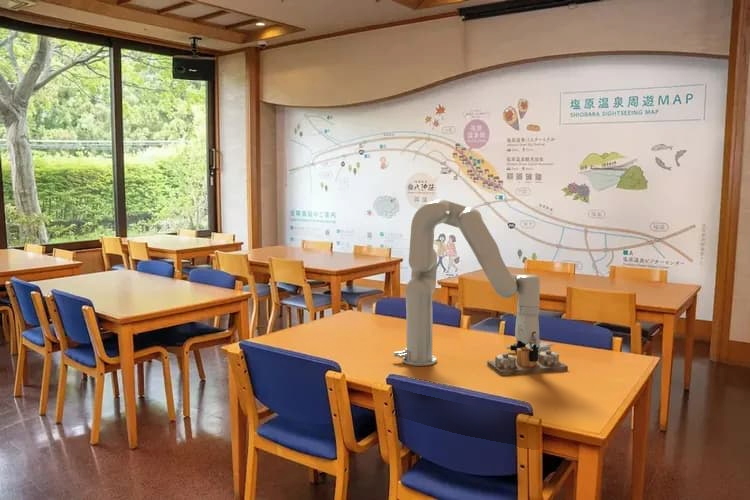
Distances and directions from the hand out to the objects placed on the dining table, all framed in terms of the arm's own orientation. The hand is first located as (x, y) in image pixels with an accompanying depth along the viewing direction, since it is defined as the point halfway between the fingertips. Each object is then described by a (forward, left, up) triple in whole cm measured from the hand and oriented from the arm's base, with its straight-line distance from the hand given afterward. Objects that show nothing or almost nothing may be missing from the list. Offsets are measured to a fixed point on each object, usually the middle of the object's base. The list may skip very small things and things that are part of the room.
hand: (527, 357), depth 218 cm
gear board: (0, 0, -4) cm, 4 cm away
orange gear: (0, 0, -2) cm, 2 cm away
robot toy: (+9, +16, -4) cm, 19 cm away
